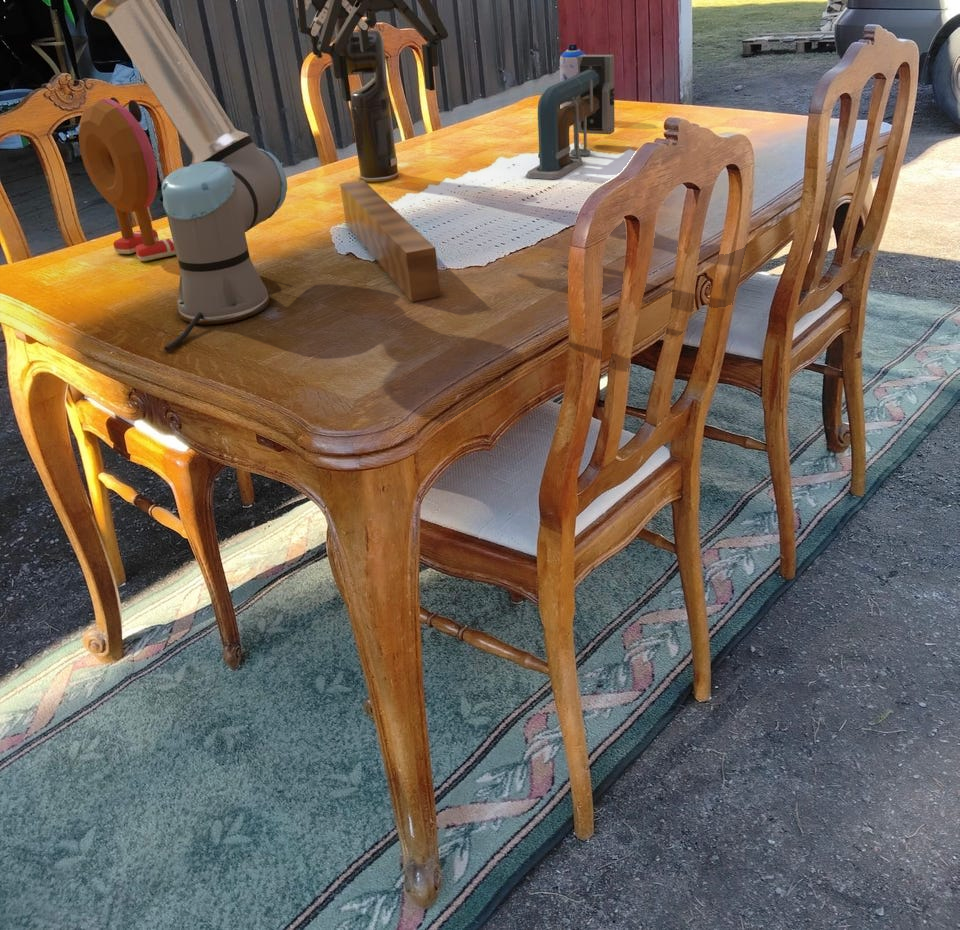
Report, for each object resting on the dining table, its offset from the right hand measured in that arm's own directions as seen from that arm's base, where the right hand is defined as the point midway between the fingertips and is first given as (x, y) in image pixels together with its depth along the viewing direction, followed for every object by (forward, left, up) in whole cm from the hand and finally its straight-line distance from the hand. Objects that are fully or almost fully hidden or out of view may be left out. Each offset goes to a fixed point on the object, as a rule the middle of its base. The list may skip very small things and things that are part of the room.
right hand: (341, 54), depth 180 cm
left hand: (+35, 0, -2) cm, 35 cm away
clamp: (-30, +59, -34) cm, 75 cm away
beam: (+17, 0, -34) cm, 38 cm away
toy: (-13, -43, -34) cm, 56 cm away
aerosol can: (-73, +79, -34) cm, 113 cm away
